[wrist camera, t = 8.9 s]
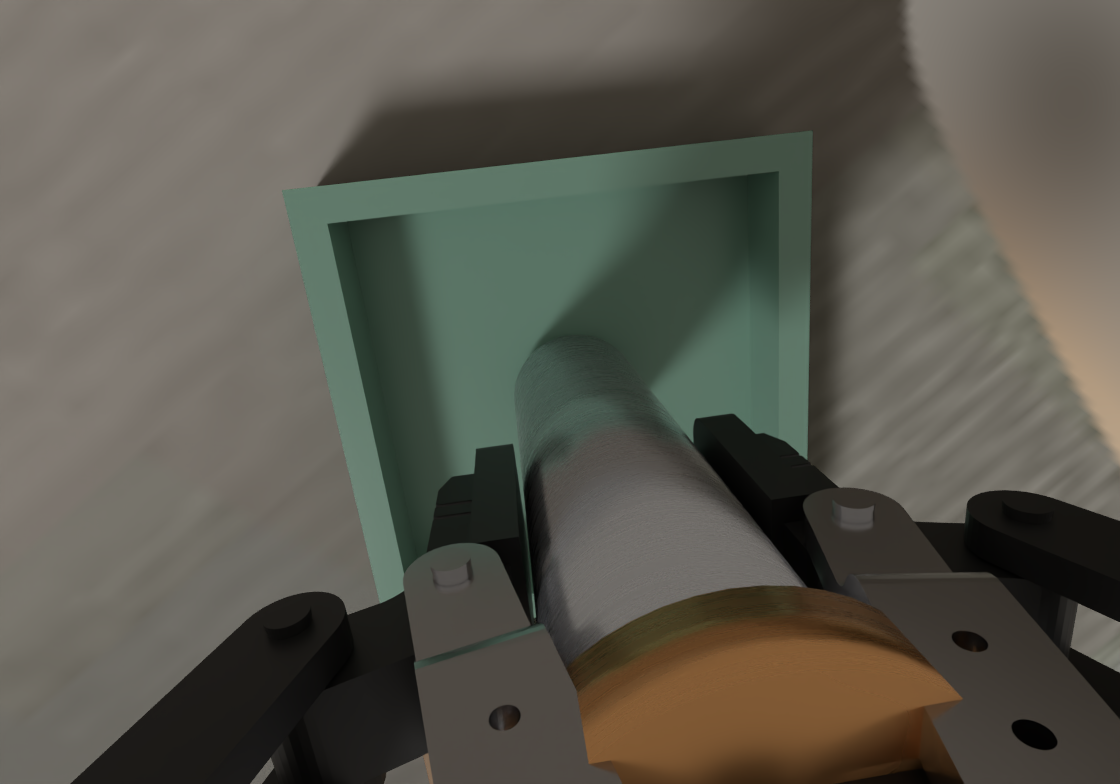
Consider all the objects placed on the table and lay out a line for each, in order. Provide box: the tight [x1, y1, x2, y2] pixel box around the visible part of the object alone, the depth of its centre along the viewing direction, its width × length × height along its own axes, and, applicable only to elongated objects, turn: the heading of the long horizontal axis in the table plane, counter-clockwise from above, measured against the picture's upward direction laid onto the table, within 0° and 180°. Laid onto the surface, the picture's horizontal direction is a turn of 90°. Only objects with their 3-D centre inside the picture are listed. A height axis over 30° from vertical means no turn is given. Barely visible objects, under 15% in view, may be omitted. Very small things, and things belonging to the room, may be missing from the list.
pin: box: [514, 335, 963, 784], centre depth 11 cm, size 4×4×13 cm
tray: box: [282, 130, 813, 618], centre depth 17 cm, size 12×12×2 cm
